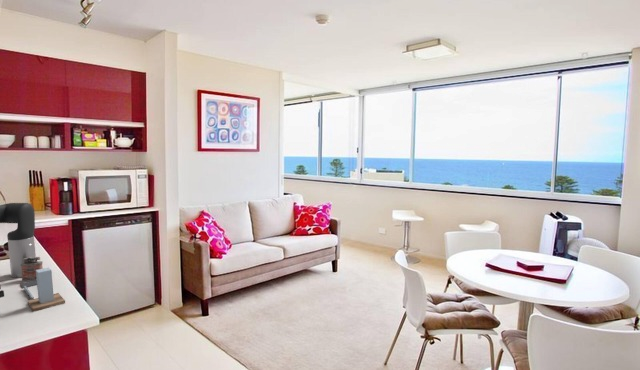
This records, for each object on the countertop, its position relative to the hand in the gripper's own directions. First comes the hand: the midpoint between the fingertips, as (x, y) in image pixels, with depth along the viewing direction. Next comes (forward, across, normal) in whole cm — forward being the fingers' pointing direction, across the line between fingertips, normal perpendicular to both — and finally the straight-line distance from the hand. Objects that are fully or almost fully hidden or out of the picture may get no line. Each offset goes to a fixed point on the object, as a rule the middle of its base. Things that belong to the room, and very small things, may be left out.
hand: (2, 289), depth 126 cm
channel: (+12, +14, +9) cm, 21 cm away
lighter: (+14, +34, +9) cm, 38 cm away
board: (+12, 0, +9) cm, 15 cm away
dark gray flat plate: (+12, +27, +9) cm, 31 cm away
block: (+12, 0, +8) cm, 15 cm away
